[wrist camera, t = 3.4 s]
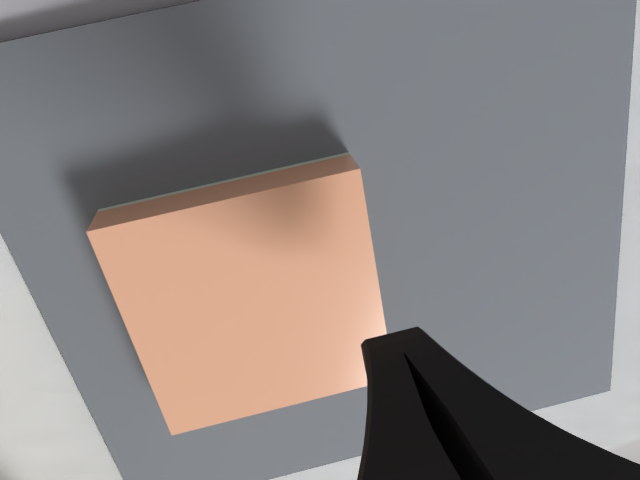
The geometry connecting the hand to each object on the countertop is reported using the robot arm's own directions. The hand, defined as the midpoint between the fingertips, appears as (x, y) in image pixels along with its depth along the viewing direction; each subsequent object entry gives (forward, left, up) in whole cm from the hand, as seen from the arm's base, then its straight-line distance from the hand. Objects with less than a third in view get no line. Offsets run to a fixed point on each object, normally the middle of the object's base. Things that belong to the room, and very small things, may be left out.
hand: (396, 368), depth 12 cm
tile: (-1, 0, -4) cm, 4 cm away
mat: (0, 0, -5) cm, 5 cm away
